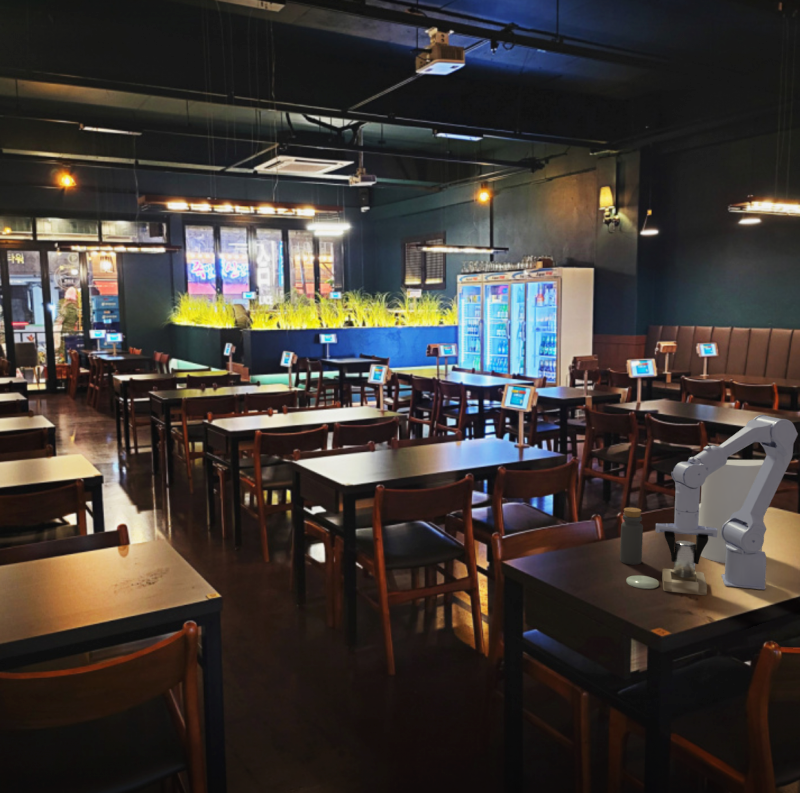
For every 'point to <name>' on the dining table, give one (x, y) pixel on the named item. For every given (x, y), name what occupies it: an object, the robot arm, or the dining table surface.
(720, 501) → the cylinder
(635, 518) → the bottle
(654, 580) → the coaster
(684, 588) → the collar
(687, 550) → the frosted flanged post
